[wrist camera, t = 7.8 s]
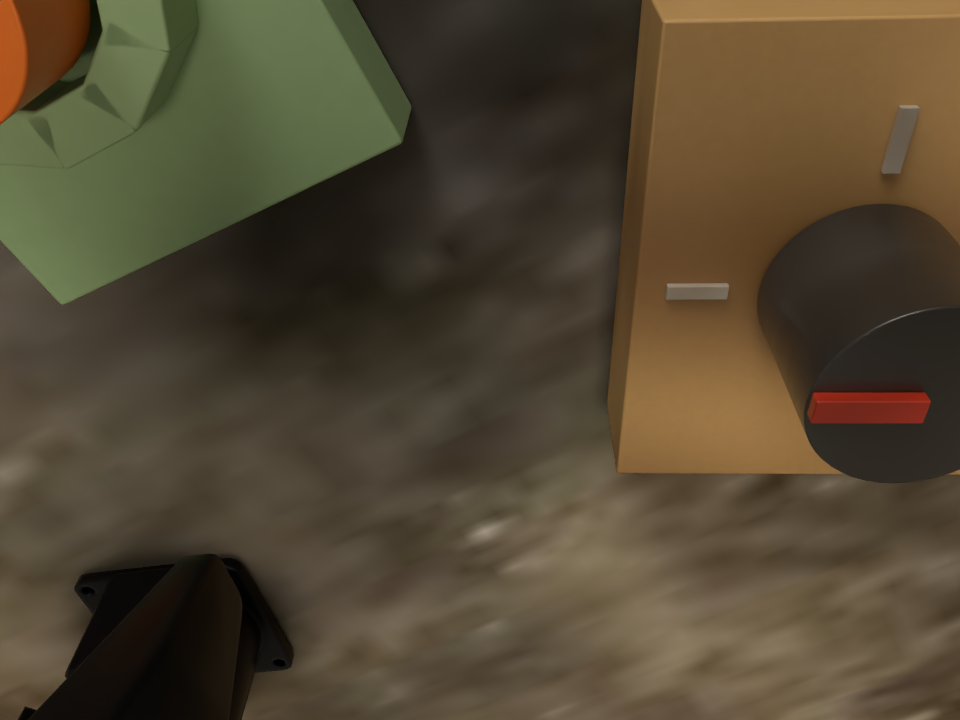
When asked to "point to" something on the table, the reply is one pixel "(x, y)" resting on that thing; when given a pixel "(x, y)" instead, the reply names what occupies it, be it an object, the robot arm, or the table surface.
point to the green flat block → (187, 130)
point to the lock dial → (871, 340)
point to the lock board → (759, 202)
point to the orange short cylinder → (38, 47)
